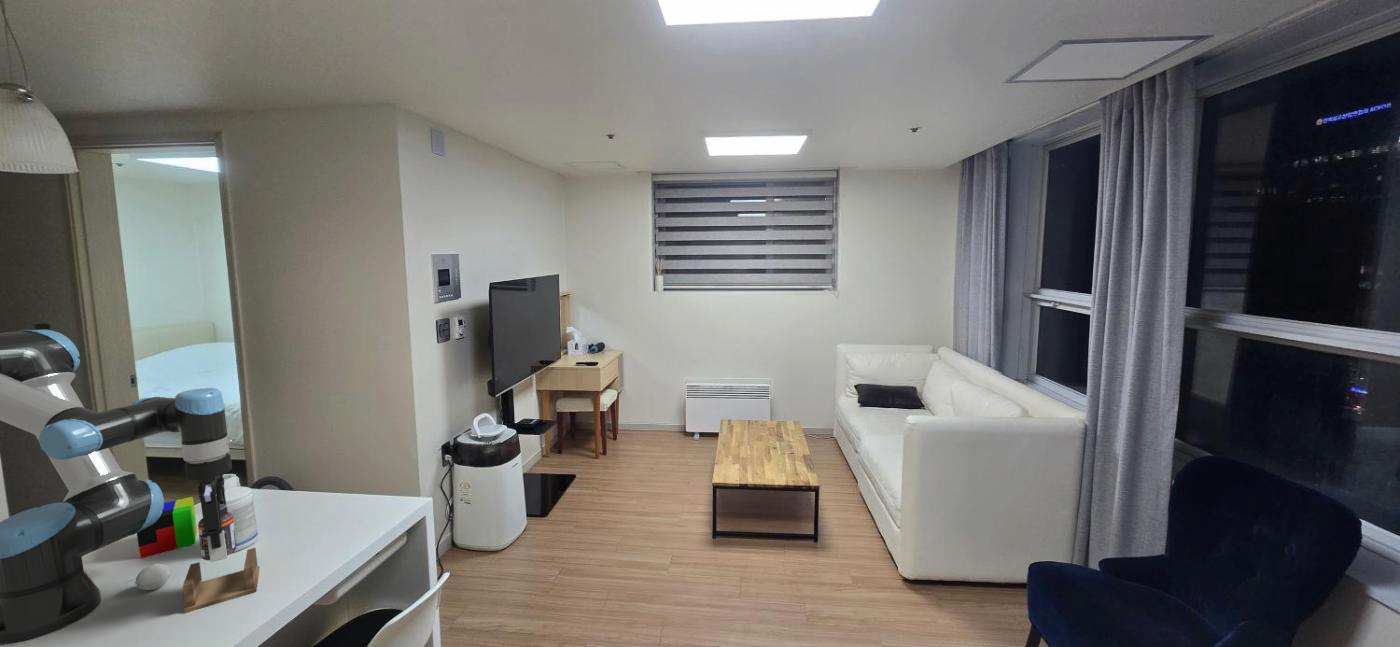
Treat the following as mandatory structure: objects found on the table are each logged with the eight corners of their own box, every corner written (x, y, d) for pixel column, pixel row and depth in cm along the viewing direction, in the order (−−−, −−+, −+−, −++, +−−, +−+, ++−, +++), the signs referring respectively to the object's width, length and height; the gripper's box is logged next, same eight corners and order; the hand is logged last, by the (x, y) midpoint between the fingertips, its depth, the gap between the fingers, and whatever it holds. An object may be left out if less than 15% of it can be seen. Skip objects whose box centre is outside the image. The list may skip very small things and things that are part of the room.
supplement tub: (258, 532, 145) (253, 482, 143) (258, 547, 138) (251, 495, 136) (211, 544, 139) (205, 492, 137) (208, 560, 131) (201, 506, 130)
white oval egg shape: (177, 578, 124) (174, 556, 123) (162, 592, 119) (159, 570, 118) (136, 585, 122) (132, 563, 121) (119, 600, 116) (115, 577, 116)
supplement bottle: (200, 565, 115) (194, 517, 113) (203, 553, 119) (197, 507, 118) (236, 555, 118) (230, 508, 117) (237, 544, 123) (232, 499, 121)
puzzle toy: (145, 542, 140) (140, 507, 138) (197, 529, 146) (192, 496, 145) (140, 558, 132) (135, 522, 131) (194, 544, 139) (190, 509, 137)
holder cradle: (184, 613, 112) (180, 587, 111) (192, 587, 121) (189, 563, 120) (256, 591, 119) (253, 567, 119) (259, 568, 128) (257, 546, 127)
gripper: (225, 466, 111) (238, 566, 114) (234, 441, 126) (246, 530, 129) (175, 475, 106) (191, 579, 109) (191, 449, 121) (204, 540, 124)
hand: (220, 552), depth 119 cm, fingers closed on supplement bottle, 6 cm apart
